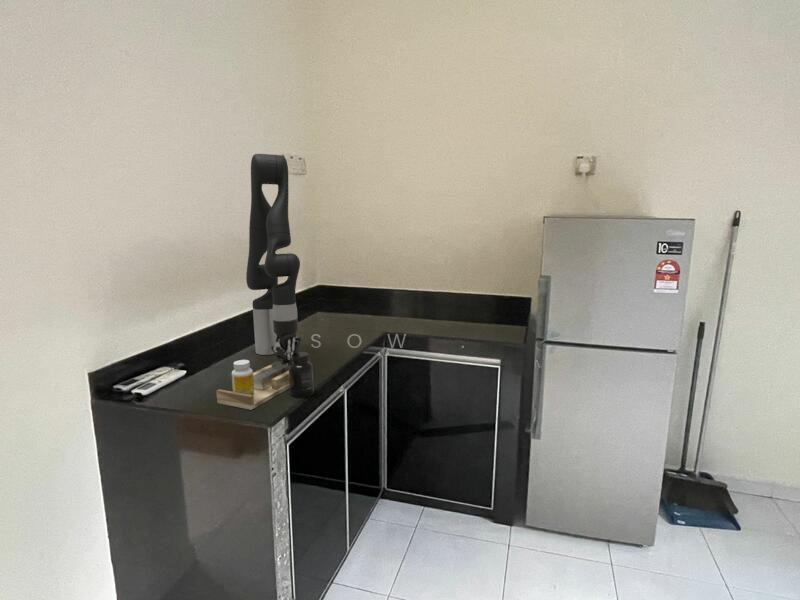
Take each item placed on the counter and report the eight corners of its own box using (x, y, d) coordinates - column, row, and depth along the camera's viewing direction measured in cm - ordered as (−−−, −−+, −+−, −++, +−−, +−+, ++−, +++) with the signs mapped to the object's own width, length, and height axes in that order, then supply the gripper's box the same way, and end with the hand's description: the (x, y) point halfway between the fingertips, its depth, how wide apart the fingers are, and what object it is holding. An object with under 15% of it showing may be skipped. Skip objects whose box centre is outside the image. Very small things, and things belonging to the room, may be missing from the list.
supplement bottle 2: (315, 389, 144) (313, 350, 142) (312, 397, 137) (310, 357, 135) (292, 389, 144) (290, 351, 142) (288, 398, 137) (285, 358, 135)
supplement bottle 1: (229, 396, 135) (226, 362, 133) (247, 391, 139) (245, 357, 137) (239, 402, 132) (237, 366, 130) (258, 396, 136) (256, 361, 134)
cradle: (269, 376, 155) (269, 364, 154) (300, 381, 150) (300, 368, 149) (217, 403, 134) (216, 388, 133) (251, 409, 129) (250, 395, 129)
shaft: (276, 375, 152) (275, 361, 151) (289, 377, 150) (288, 362, 149) (251, 388, 141) (250, 373, 141) (264, 390, 140) (263, 375, 139)
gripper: (282, 323, 143) (285, 378, 146) (307, 314, 155) (309, 365, 158) (261, 321, 145) (265, 375, 149) (287, 312, 157) (290, 362, 161)
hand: (288, 370), depth 153 cm, fingers closed
